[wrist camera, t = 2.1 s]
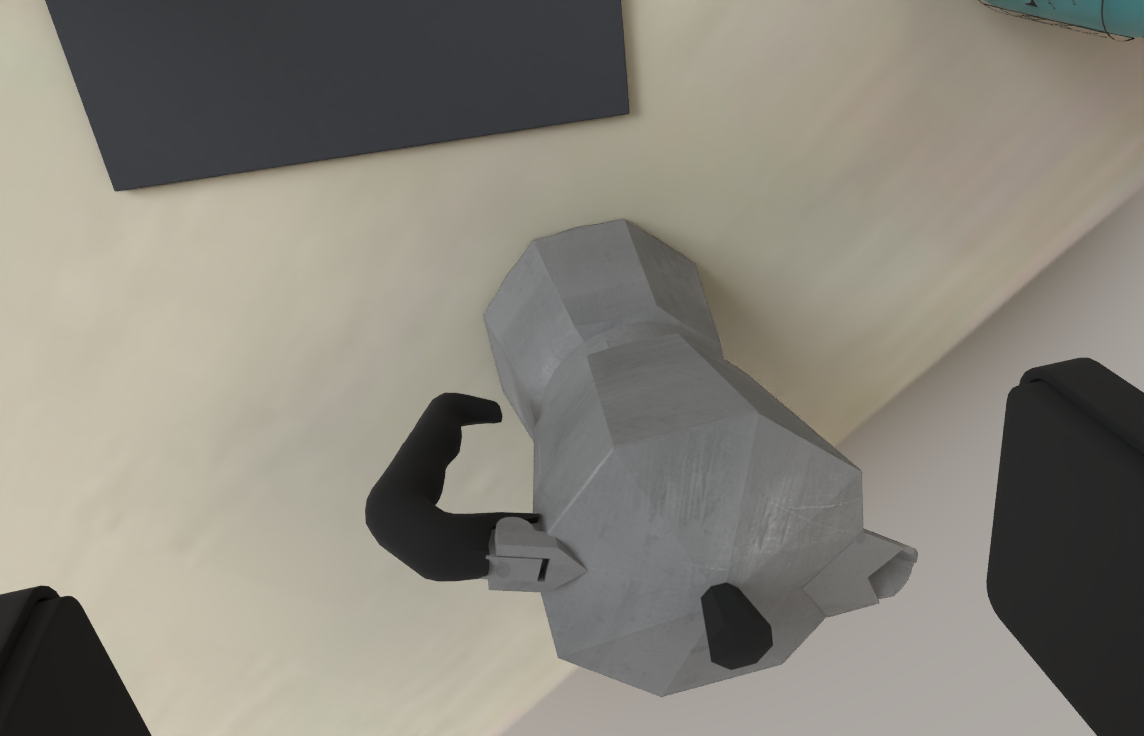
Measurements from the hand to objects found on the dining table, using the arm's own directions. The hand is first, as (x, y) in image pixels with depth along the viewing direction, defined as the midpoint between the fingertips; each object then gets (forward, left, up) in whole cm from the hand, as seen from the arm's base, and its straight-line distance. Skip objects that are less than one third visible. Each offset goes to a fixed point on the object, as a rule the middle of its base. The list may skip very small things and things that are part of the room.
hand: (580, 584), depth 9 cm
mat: (-4, -3, -26) cm, 26 cm away
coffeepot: (+10, +3, -26) cm, 28 cm away
